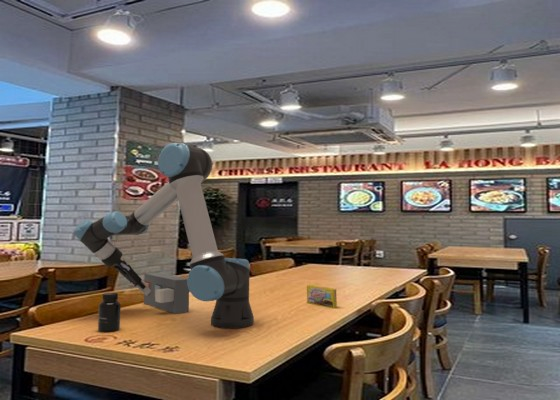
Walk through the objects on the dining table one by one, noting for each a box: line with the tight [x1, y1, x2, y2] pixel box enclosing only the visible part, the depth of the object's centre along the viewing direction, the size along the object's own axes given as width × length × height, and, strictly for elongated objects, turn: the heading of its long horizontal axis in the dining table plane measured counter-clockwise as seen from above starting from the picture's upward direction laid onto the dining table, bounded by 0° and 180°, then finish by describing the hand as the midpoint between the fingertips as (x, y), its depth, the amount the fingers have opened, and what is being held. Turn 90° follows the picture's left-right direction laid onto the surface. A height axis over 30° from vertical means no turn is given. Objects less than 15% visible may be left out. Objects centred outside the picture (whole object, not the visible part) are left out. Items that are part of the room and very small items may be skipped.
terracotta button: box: [143, 281, 150, 294], centre depth 198 cm, size 8×5×5 cm, turn 130°
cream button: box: [155, 288, 174, 303], centre depth 178 cm, size 8×5×5 cm, turn 130°
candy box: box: [306, 284, 338, 309], centre depth 196 cm, size 16×2×8 cm, turn 42°
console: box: [143, 272, 190, 315], centre depth 190 cm, size 6×29×13 cm, turn 40°
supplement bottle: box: [97, 292, 122, 333], centre depth 151 cm, size 7×7×12 cm
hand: (148, 292), depth 185 cm, fingers closed
